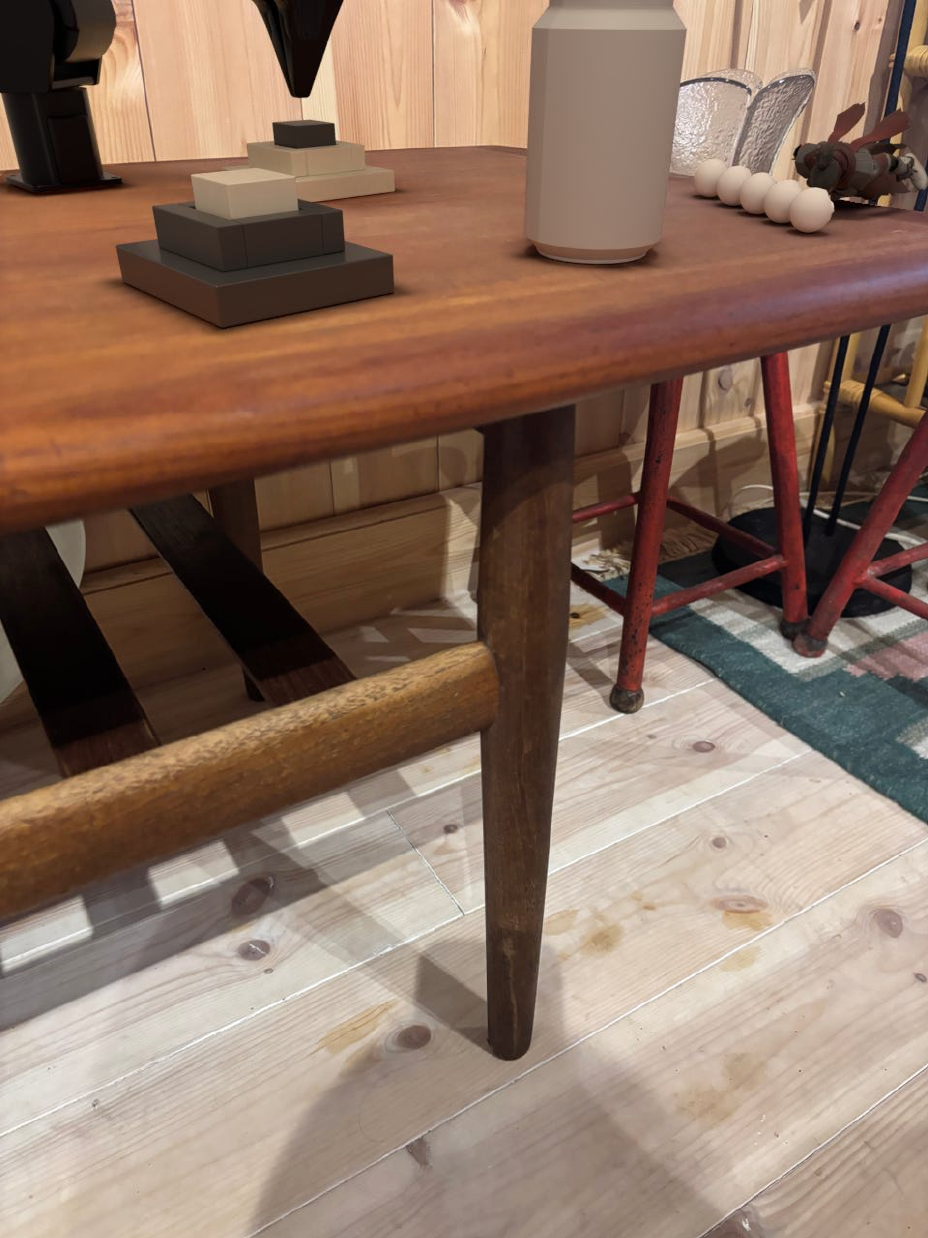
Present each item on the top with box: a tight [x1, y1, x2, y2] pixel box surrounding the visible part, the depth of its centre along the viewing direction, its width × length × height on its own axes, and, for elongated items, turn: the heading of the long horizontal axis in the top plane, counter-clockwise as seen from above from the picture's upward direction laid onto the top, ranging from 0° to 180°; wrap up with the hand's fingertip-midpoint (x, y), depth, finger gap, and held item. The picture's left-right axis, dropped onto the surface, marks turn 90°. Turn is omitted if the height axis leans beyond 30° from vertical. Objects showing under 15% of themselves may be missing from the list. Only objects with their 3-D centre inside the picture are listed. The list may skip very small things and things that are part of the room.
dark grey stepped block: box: [115, 199, 395, 329], centre depth 42 cm, size 10×9×4 cm
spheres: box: [693, 158, 835, 233], centre depth 59 cm, size 15×2×2 cm, turn 14°
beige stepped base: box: [220, 139, 396, 203], centre depth 65 cm, size 9×9×3 cm
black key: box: [271, 119, 337, 149], centre depth 64 cm, size 3×3×2 cm
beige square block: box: [190, 168, 298, 220], centre depth 41 cm, size 3×3×2 cm
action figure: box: [790, 101, 928, 203], centre depth 60 cm, size 8×6×18 cm
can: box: [523, 0, 688, 265], centre depth 46 cm, size 8×8×12 cm
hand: (300, 97), depth 63 cm, fingers closed
